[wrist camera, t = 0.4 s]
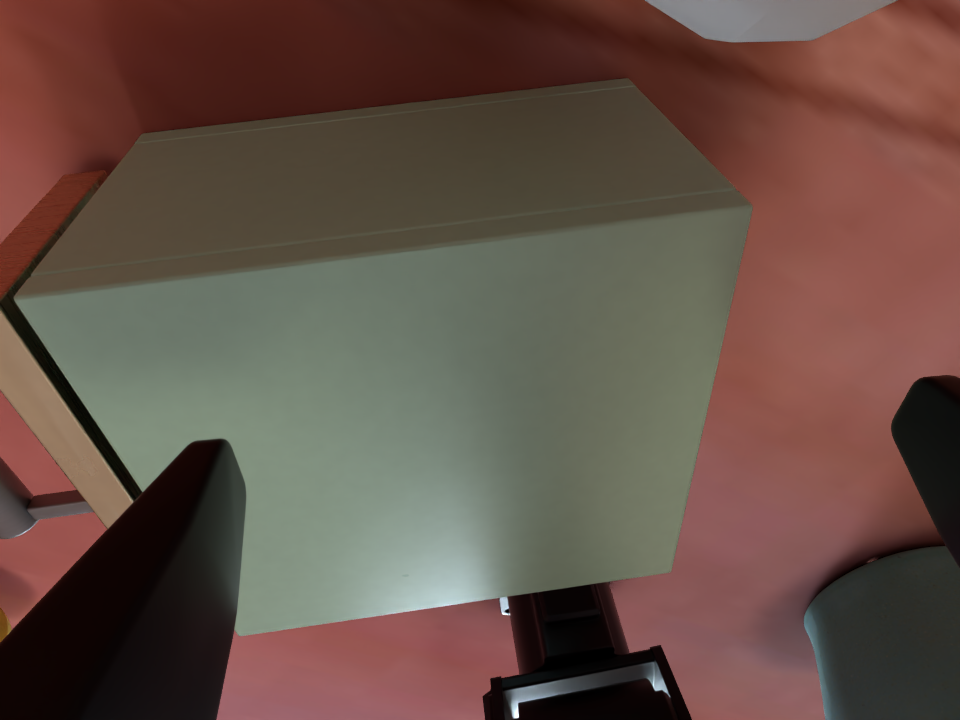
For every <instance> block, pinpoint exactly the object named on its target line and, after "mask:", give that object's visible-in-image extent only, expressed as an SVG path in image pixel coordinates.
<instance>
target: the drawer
mask: <svg viewBox="0 0 960 720" xmlns="http://www.w3.org/2000/svg"><path fill="white" fill-rule="evenodd" d="M107 178H108V176H107V174H106V172H105V171H103V170H102V171H93V172H85V173H76V174H68V175H64V176H63V177H62V178H61V179H60V180H59V181H58V182H57V183H56V184H55V185H54V187H53V188H52V189H51V190H50V191H49V192H48V193H47V194H46V195H45V196H44V197H43V198H42V200H41V201H40V202H39V203H38V204H37V205H36V206H35V207H34V208H33V209H32V210H31V211H30V213H29V214H28V215H27V216H26V217H25V218H24V219H23V220H22V221H21V222H20V223H19V224H18V226H17V227H16V228H15V229H14V230H13V231H12V232H11V233H10V234H9V235H8V236H7V237H6V239H5V240H4V241H3V242H2V243H1V244H0V391H1V392H2V393H3V395H4V396H5V397H6V399H7V400H8V401H9V402H10V404H11V405H12V406H13V408H14V409H15V410H16V412H17V413H18V414H19V415H20V417H21V418H22V419H23V421H24V422H25V423H26V424H27V426H28V427H29V428H30V430H31V431H32V432H33V433H34V435H35V436H36V437H37V439H38V440H39V441H40V443H41V444H42V445H43V446H44V448H45V449H46V450H47V452H48V453H49V454H50V455H51V457H52V458H53V459H54V461H55V462H56V463H57V465H58V466H59V467H60V468H61V470H62V471H63V472H64V474H65V475H66V476H67V477H68V479H69V480H70V481H71V483H72V484H73V485H74V487H75V488H76V489H77V490H73V491H66V492H59V493H51V494H44V495H37V496H33V495H32V494H31V492H30V491H29V490H28V489H27V488H26V487H25V485H24V484H23V483H22V482H21V481H20V480H19V478H18V477H17V476H16V475H15V474H14V472H13V471H12V470H11V469H10V468H9V467H8V465H7V464H6V463H5V462H4V461H3V460H2V458H1V457H0V539H10V538H14V537H17V536H19V535H21V534H23V533H25V532H27V531H28V530H29V529H31V528H32V527H33V526H34V525H35V524H36V523H37V522H38V520H40V519H47V518H54V517H61V516H68V515H76V514H83V513H90V512H95V514H96V515H97V516H98V518H99V519H100V520H101V521H102V523H103V524H104V525H105V527H106V528H107V529H108V528H109V527H110V526H111V525H112V524H113V523H114V522H115V521H116V520H117V519H118V518H119V517H120V516H121V515H122V514H123V512H124V511H125V510H126V509H127V508H128V507H129V506H130V505H131V504H132V503H133V502H134V501H135V500H136V499H137V498H138V497H139V496H140V495H141V494H142V491H141V489H140V488H139V486H138V485H137V483H136V482H135V480H134V479H133V477H132V476H131V474H130V473H129V471H128V470H127V468H126V467H125V465H124V464H123V462H122V461H121V459H120V458H119V456H118V455H117V453H116V452H115V450H114V449H113V448H112V446H111V445H110V443H109V442H108V440H107V439H106V437H105V436H104V434H103V433H102V431H101V430H100V428H99V427H98V425H97V424H96V422H95V421H94V419H93V418H92V416H91V415H90V413H89V412H88V410H87V409H86V407H85V406H84V404H83V403H82V401H81V400H80V398H79V397H78V395H77V394H76V392H75V391H74V389H73V388H72V386H71V385H70V383H69V382H68V380H67V379H66V377H65V376H64V374H63V373H62V371H61V370H60V368H59V367H58V365H57V364H56V362H55V361H54V359H53V358H52V356H51V355H50V353H49V352H48V350H47V349H46V347H45V346H44V344H43V343H42V341H41V340H40V338H39V337H38V335H37V334H36V332H35V331H34V329H33V328H32V326H31V325H30V324H29V322H28V321H27V319H26V318H25V316H24V315H23V313H22V312H21V310H20V309H19V307H18V306H17V304H16V303H15V301H14V296H15V294H16V293H17V292H18V290H19V289H20V288H21V287H22V285H23V284H24V283H25V282H26V280H27V279H28V278H30V277H31V274H32V272H33V271H34V270H35V269H36V267H37V266H38V265H39V264H40V262H41V261H42V260H43V259H44V257H45V256H46V255H47V254H48V252H49V251H50V250H51V248H52V247H53V246H54V245H55V243H56V242H57V241H58V240H59V238H60V237H61V236H62V235H63V233H64V232H65V231H66V230H67V228H68V227H69V226H70V224H71V223H72V222H73V221H74V219H75V218H76V217H77V216H78V214H79V213H80V212H81V211H82V209H83V208H84V207H85V206H86V204H87V203H88V202H89V200H90V199H91V198H92V197H93V195H94V194H95V193H96V192H97V190H98V189H99V188H100V187H101V185H102V184H103V183H104V182H105V180H106V179H107Z"/></svg>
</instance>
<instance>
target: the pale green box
mask: <svg viewBox="0 0 960 720" xmlns="http://www.w3.org/2000/svg"><path fill="white" fill-rule="evenodd" d="M752 210H753V208H752V204H751V203H750V202H749V201H748V200H747V199H746V198H745V197H744V196H743V195H742V194H741V193H740V192H739V191H736V188H735V187H734V186H733V185H732V184H731V183H730V182H729V181H728V180H727V179H726V178H725V177H724V176H723V175H722V174H721V173H720V172H719V171H718V169H717V168H716V167H715V166H714V165H713V164H712V163H711V162H710V161H709V160H708V159H707V158H706V157H705V156H704V155H703V154H702V153H701V152H700V151H699V150H698V149H697V148H696V147H695V146H694V145H693V144H692V143H691V142H690V141H689V140H688V139H687V138H686V137H685V136H684V135H683V134H682V133H681V132H680V131H679V130H678V129H677V128H676V127H675V126H674V125H673V124H672V123H671V122H670V121H669V120H668V119H667V118H666V117H665V116H664V115H663V114H662V113H661V112H660V110H659V109H658V108H657V107H656V106H655V105H654V104H653V103H652V102H651V101H650V100H649V99H648V98H647V97H646V96H645V95H644V94H643V93H642V92H641V91H640V90H639V89H638V88H637V87H636V86H635V85H634V84H633V83H632V82H631V81H630V79H628V78H623V79H615V80H606V81H597V82H589V83H580V84H571V85H562V86H554V87H545V88H536V89H527V90H519V91H510V92H501V93H492V94H484V95H475V96H466V97H458V98H449V99H440V100H431V101H423V102H414V103H405V104H396V105H388V106H379V107H370V108H361V109H353V110H344V111H335V112H326V113H318V114H309V115H300V116H292V117H283V118H274V119H265V120H257V121H248V122H239V123H230V124H222V125H213V126H204V127H195V128H187V129H178V130H169V131H161V132H152V133H143V134H141V135H140V137H139V138H138V139H137V140H136V142H135V143H134V145H133V146H132V147H131V149H130V150H129V151H128V152H127V154H126V155H125V156H124V158H123V159H122V160H121V161H120V163H119V164H118V165H117V166H116V168H115V169H114V170H113V171H112V173H111V174H110V175H109V176H108V178H107V179H106V180H105V182H104V183H103V184H102V185H101V187H100V188H99V189H98V190H97V192H96V193H95V194H94V195H93V197H92V198H91V199H90V200H89V202H88V203H87V204H86V206H85V207H84V208H83V209H82V211H81V212H80V213H79V214H78V216H77V217H76V218H75V219H74V221H73V222H72V223H71V224H70V226H69V227H68V228H67V230H66V231H65V232H64V233H63V235H62V236H61V237H60V238H59V240H58V241H57V242H56V243H55V245H54V246H53V247H52V248H51V250H50V251H49V252H48V254H47V255H46V256H45V257H44V259H43V260H42V261H41V262H40V264H39V265H38V266H37V267H36V269H35V270H34V271H33V272H32V274H31V277H30V278H28V279H27V280H26V282H25V283H24V284H23V285H22V287H21V288H20V289H19V290H18V292H17V293H16V294H15V296H14V301H15V303H16V304H17V306H18V307H19V309H20V310H21V312H22V313H23V315H24V316H25V318H26V319H27V321H28V322H29V324H30V325H31V326H32V328H33V329H34V331H35V332H36V334H37V335H38V337H39V338H40V340H41V341H42V343H43V344H44V346H45V347H46V349H47V350H48V352H49V353H50V355H51V356H52V358H53V359H54V361H55V362H56V364H57V365H58V367H59V368H60V370H61V371H62V373H63V374H64V376H65V377H66V379H67V380H68V382H69V383H70V385H71V386H72V388H73V389H74V391H75V392H76V394H77V395H78V397H79V398H80V400H81V401H82V403H83V404H84V406H85V407H86V409H87V410H88V412H89V413H90V415H91V416H92V418H93V419H94V421H95V422H96V424H97V425H98V427H99V428H100V430H101V431H102V433H103V434H104V436H105V437H106V439H107V440H108V442H109V443H110V445H111V446H112V448H113V449H114V450H115V452H116V453H117V455H118V456H119V458H120V459H121V461H122V462H123V464H124V465H125V467H126V468H127V470H128V471H129V473H130V474H131V476H132V477H133V479H134V480H135V482H136V483H137V485H138V486H139V488H140V489H141V491H142V492H143V491H144V490H145V489H146V488H147V487H148V486H149V485H150V484H151V483H152V482H153V481H154V480H155V479H156V478H157V477H158V476H159V475H160V473H161V472H162V471H163V470H164V469H165V468H166V467H167V466H168V465H169V464H170V463H171V462H172V461H173V460H174V459H175V458H176V457H177V456H178V455H179V453H180V452H181V451H182V450H183V449H184V448H185V447H186V446H187V445H188V444H190V443H191V442H193V441H197V440H208V439H219V438H222V439H226V440H227V441H228V442H229V443H230V444H231V446H232V449H233V452H234V454H235V457H236V460H237V462H238V465H239V467H240V470H241V473H242V475H243V478H244V481H245V486H246V511H245V523H244V536H243V548H242V561H241V573H240V586H239V598H238V608H237V616H236V622H235V628H234V630H235V631H236V633H237V634H238V636H245V635H251V634H258V633H265V632H272V631H278V630H285V629H292V628H299V627H305V626H312V625H319V624H326V623H332V622H339V621H346V620H353V619H359V618H366V617H373V616H380V615H386V614H393V613H400V612H407V611H413V610H420V609H427V608H434V607H440V606H447V605H454V604H461V603H467V602H474V601H481V600H488V599H494V598H501V597H508V596H515V595H521V594H528V593H535V592H542V591H548V590H555V589H562V588H569V587H575V586H582V585H589V584H596V583H602V582H609V581H616V580H623V579H629V578H636V577H643V576H650V575H656V574H663V573H669V572H671V570H672V565H673V561H674V556H675V552H676V548H677V543H678V539H679V534H680V530H681V525H682V521H683V516H684V512H685V507H686V503H687V499H688V494H689V490H690V485H691V481H692V476H693V472H694V467H695V463H696V459H697V454H698V450H699V445H700V441H701V436H702V432H703V427H704V423H705V419H706V414H707V410H708V405H709V401H710V396H711V392H712V387H713V383H714V379H715V374H716V370H717V365H718V361H719V356H720V352H721V347H722V343H723V338H724V334H725V330H726V325H727V321H728V316H729V312H730V307H731V303H732V298H733V294H734V290H735V285H736V281H737V276H738V272H739V267H740V263H741V258H742V254H743V250H744V245H745V241H746V236H747V232H748V227H749V223H750V218H751V214H752Z"/></svg>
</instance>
